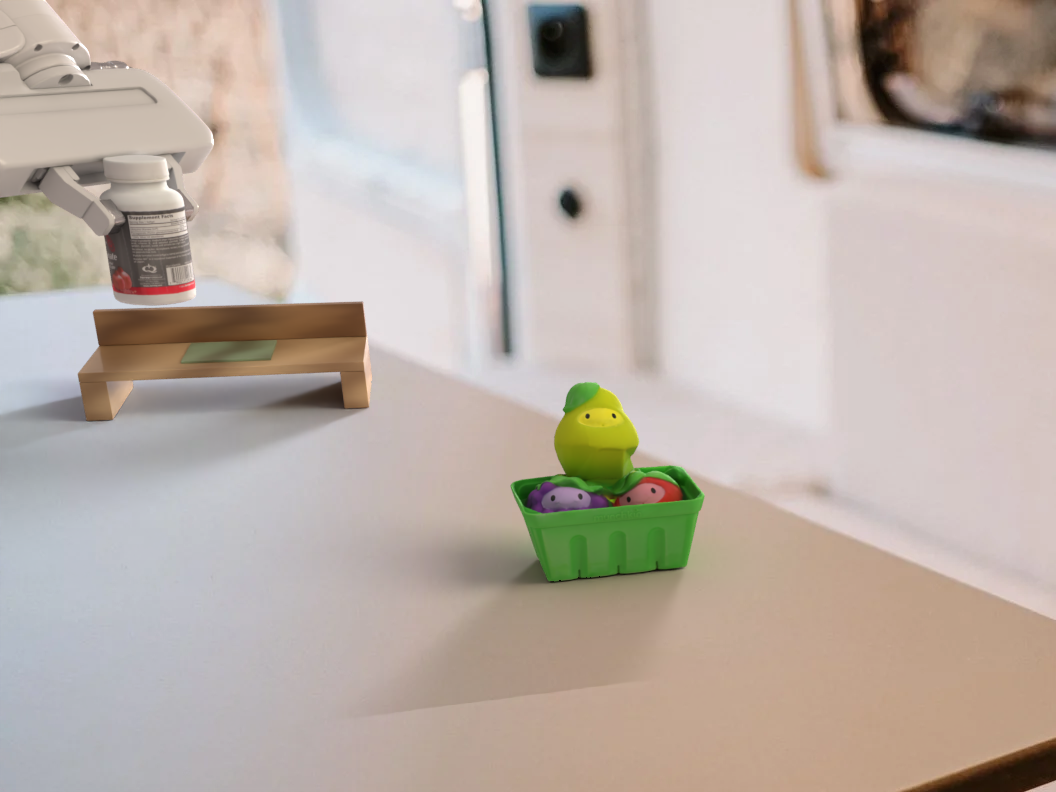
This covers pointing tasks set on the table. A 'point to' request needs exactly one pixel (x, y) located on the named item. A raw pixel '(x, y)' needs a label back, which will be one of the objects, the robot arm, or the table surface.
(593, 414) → the fruit basket
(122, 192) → the pill bottle
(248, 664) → the table surface
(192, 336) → the bench
